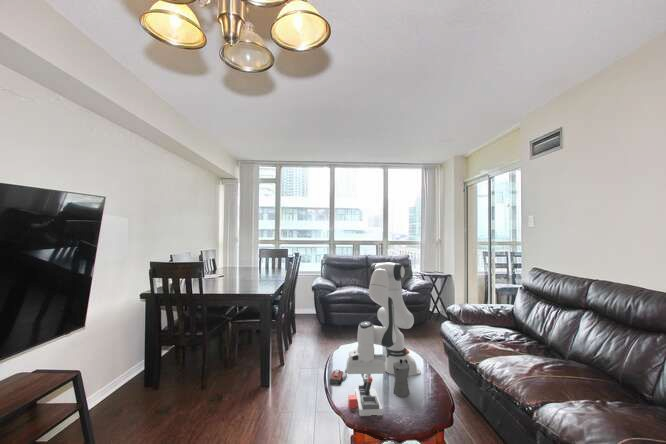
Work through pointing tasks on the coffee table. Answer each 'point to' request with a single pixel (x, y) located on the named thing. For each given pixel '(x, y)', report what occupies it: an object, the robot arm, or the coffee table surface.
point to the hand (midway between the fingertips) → (365, 381)
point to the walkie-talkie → (338, 377)
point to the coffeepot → (401, 378)
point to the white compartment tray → (368, 402)
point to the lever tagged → (368, 386)
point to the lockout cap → (352, 401)
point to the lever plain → (365, 383)
